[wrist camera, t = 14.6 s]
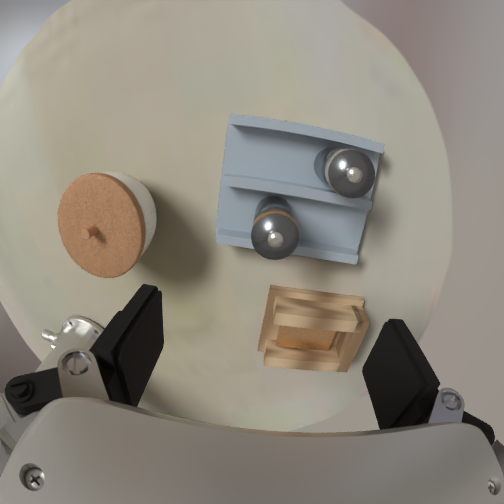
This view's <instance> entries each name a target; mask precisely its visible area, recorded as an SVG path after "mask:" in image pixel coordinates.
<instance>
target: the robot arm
mask: <svg viewBox="0 0 504 504" xmlns="http://www.w3.org/2000/svg"><path fill="white" fill-rule="evenodd" d="M42 337H43V339H45V340H47V341H49V342H53V344H52V346H51V348H52V351H51V352H50V354H49V355H48V356H47V357H46V358H45V360H44V361H43V362H42V364H41V365H40V366H39V367H38V369H37V370H36V371H35V372H34V373H30V374H26V375H21V376H17V377H15V378H13V379H11V380H10V381H9V382H8V384H7V385H6V388H5V393H3V394H1V393H0V504H504V446H503V445H502V444H501V443H500V442H499V441H498V440H496V441H495V442H494V439H495V436H494V431H493V429H492V427H491V426H490V425H488V424H487V423H485V422H483V421H481V420H480V419H478V418H476V417H474V416H472V415H470V414H469V413H467V412H465V411H464V400H463V398H462V397H461V395H460V394H459V393H458V392H456V391H455V390H453V389H450V388H443V389H441V390H440V391H439V390H438V387H439V385H440V382H439V380H438V379H437V377H436V375H435V373H434V371H433V369H432V368H431V366H430V364H429V363H428V361H427V359H426V357H425V355H424V354H423V352H422V350H421V349H420V347H419V345H418V344H417V342H416V340H415V339H414V337H413V335H412V334H411V332H410V331H409V329H408V327H407V326H406V324H405V323H404V321H403V320H401V319H389V320H388V322H385V324H384V325H383V328H382V330H381V332H380V334H379V336H378V338H377V340H376V342H375V344H374V346H373V348H372V350H371V352H370V354H369V356H368V358H367V360H366V362H365V364H364V366H363V370H362V373H363V376H364V379H365V383H366V386H367V389H368V392H369V395H370V398H371V401H372V405H373V408H374V411H375V415H376V418H377V421H378V425H379V428H380V430H372V431H358V432H338V433H337V432H336V433H301V432H279V431H265V430H255V429H245V428H237V427H230V426H223V425H216V424H210V423H205V422H199V421H194V420H189V419H184V418H180V417H175V416H170V415H166V414H162V413H158V412H154V411H150V410H146V409H142V408H138V407H137V406H138V403H139V401H140V399H141V396H142V394H143V392H144V389H145V387H146V385H147V383H148V380H149V378H150V376H151V374H152V371H153V369H154V367H155V365H156V362H157V360H158V358H159V356H160V354H161V351H162V349H163V345H164V335H163V315H162V292H161V291H158V288H157V287H156V286H152V285H147V284H143V285H142V286H141V287H140V288H139V290H138V291H137V292H136V293H135V295H134V296H133V297H132V299H131V300H130V301H129V302H128V304H127V305H126V306H125V308H124V309H123V310H122V311H118V312H117V313H116V315H115V316H114V317H113V318H112V320H111V321H110V322H109V324H108V325H107V326H106V328H105V329H103V328H102V327H100V326H99V325H98V324H96V323H95V322H93V321H91V320H89V319H87V318H84V317H80V316H72V317H69V318H68V319H67V320H66V321H65V322H64V323H63V325H62V332H61V334H60V333H56V334H55V333H53V332H51V331H49V330H46V329H45V330H44V331H43V333H42Z"/></svg>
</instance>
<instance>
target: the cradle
mask: <svg viewBox="0 0 504 504" xmlns="http://www.w3.org/2000/svg"><path fill="white" fill-rule="evenodd" d="M363 303H364V300H363V298H362V297H358V296H349V295H341V294H333V293H325V292H318V291H310V290H302V289H295V288H288V287H281V286H274V285H270V289H269V294H268V299H267V304H266V309H265V314H264V319H263V324H262V329H261V334H260V339H259V344H258V351H262V352H264V366H271V367H280V368H290V369H301V370H315V371H332V372H347V371H348V369H349V367H350V365H351V363H352V361H353V359H354V357H355V355H356V353H357V351H358V348H359V346H360V344H361V342H362V340H363V338H364V335H365V333H366V331H367V329H368V326H369V324H370V322H369V319H368V317H367V315H366V313H365V311H364V309H363V307H362V306H363ZM280 325H283V326H291V327H300V328H309V329H319V330H329V331H336V332H335V335H334V337H333V340H332V342H331V345H330V347H329V350H328V351H323V350H311V349H300V348H290V347H281V346H276V339H277V335H278V331H279V327H280Z"/></svg>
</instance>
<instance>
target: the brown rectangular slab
mask: <svg viewBox="0 0 504 504" xmlns="http://www.w3.org/2000/svg"><path fill="white" fill-rule="evenodd" d="M335 332H336V331H329V330H319V329H309V328H300V327H291V326H283V325H280V327H279V331H278V335H277V339H276V346H281V347H290V348H300V349H311V350H323V351H328V350H329V347H330V345H331V342H332V340H333V337H334V335H335Z"/></svg>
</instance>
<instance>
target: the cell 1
mask: <svg viewBox="0 0 504 504" xmlns="http://www.w3.org/2000/svg"><path fill="white" fill-rule="evenodd" d="M251 241H252V245H253V247H254V249H255V250H256V251H257V252H258V253H259V254H260V255H261V256H263V257H265V258H267V259H272V260H278V259H283V258H285V257H287V256H289V255H290V254H292V253H293V252H294V250H295V249H296V247H297V245H298V242H299V230H298V227H297V224H296V222H295V219H294V216H293V213H292V211H291V208H290V205H289V204H288V203H287V201H286V200H284V199H283V198H281V197H278V196H269V197H266V198H264V199H262V200H261V201H260V202H259V203H258V205H257V207H256V210H255V216H254V221H253V226H252V231H251Z"/></svg>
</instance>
